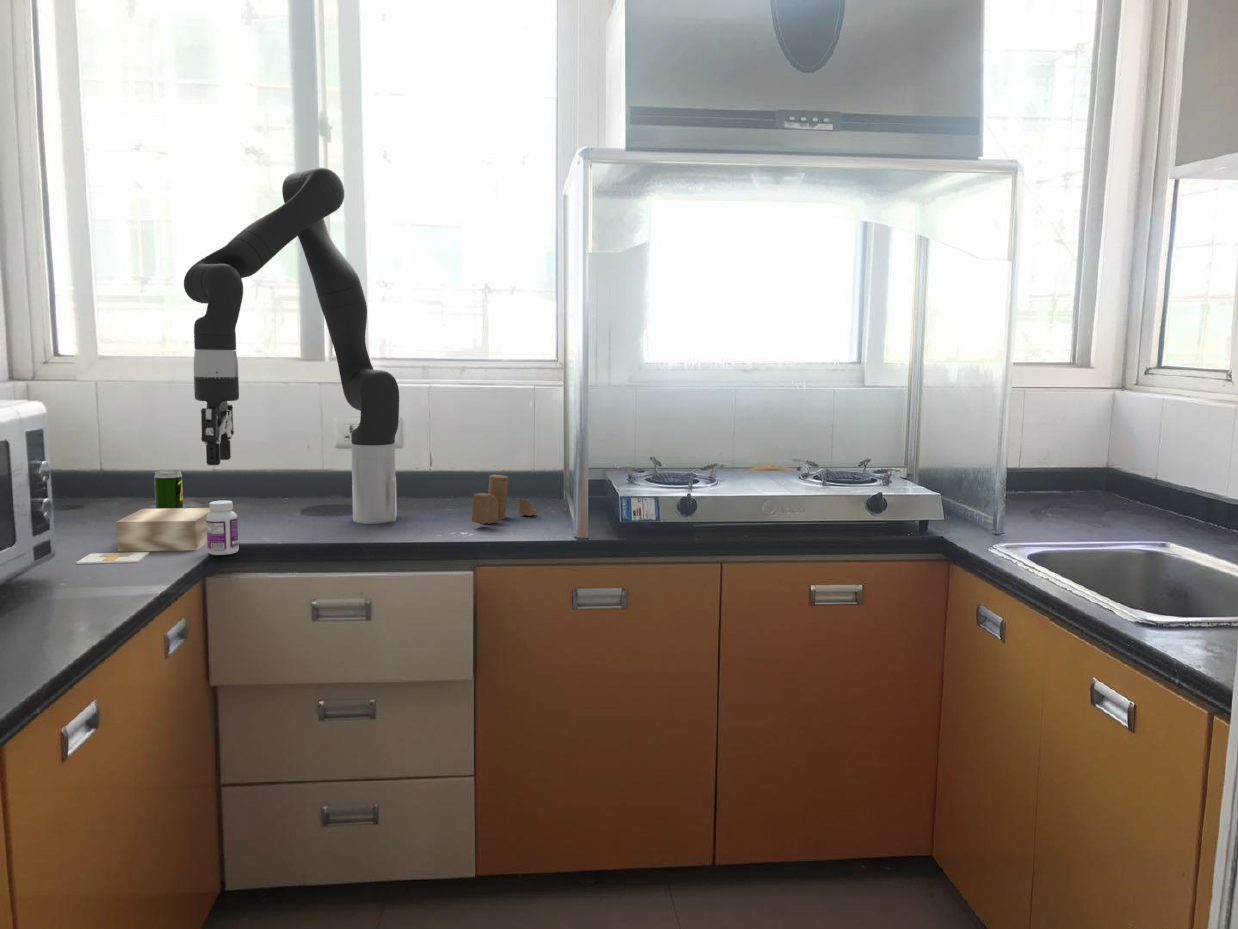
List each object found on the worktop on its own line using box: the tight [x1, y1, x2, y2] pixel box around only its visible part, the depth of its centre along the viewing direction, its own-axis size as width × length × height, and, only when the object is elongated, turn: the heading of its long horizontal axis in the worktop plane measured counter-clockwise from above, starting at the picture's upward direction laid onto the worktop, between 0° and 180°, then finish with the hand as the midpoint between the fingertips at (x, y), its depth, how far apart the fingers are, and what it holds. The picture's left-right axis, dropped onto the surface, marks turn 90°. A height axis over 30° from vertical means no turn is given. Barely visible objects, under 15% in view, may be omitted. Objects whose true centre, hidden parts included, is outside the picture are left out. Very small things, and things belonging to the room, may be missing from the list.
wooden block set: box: [471, 474, 538, 525], centre depth 204 cm, size 18×9×10 cm, turn 151°
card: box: [75, 551, 150, 565], centre depth 166 cm, size 10×7×1 cm
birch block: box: [115, 507, 211, 553], centre depth 180 cm, size 14×14×6 cm
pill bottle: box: [206, 499, 240, 556], centre depth 172 cm, size 5×5×10 cm
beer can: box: [153, 469, 185, 509], centre depth 194 cm, size 5×5×12 cm
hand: (219, 462), depth 171 cm, fingers open, 8 cm apart
